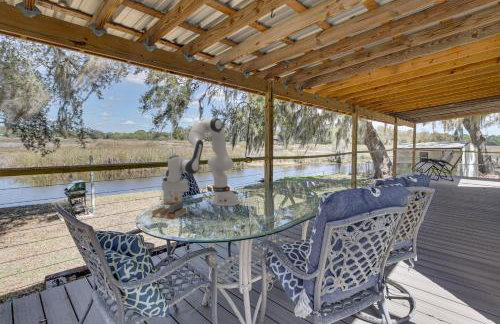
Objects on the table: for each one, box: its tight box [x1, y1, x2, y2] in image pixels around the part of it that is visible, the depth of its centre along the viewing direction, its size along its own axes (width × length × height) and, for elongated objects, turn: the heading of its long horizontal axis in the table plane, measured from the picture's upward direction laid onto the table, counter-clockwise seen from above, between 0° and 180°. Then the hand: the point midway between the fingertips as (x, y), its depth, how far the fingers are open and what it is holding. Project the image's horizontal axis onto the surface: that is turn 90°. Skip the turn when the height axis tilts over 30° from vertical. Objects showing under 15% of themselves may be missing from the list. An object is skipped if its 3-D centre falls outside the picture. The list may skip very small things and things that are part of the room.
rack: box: [151, 205, 188, 220], centre depth 203 cm, size 19×17×4 cm
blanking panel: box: [169, 201, 184, 216], centre depth 201 cm, size 3×12×7 cm, turn 163°
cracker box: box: [162, 190, 183, 205], centre depth 236 cm, size 14×6×21 cm, turn 84°
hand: (176, 197), depth 201 cm, fingers open, 6 cm apart
